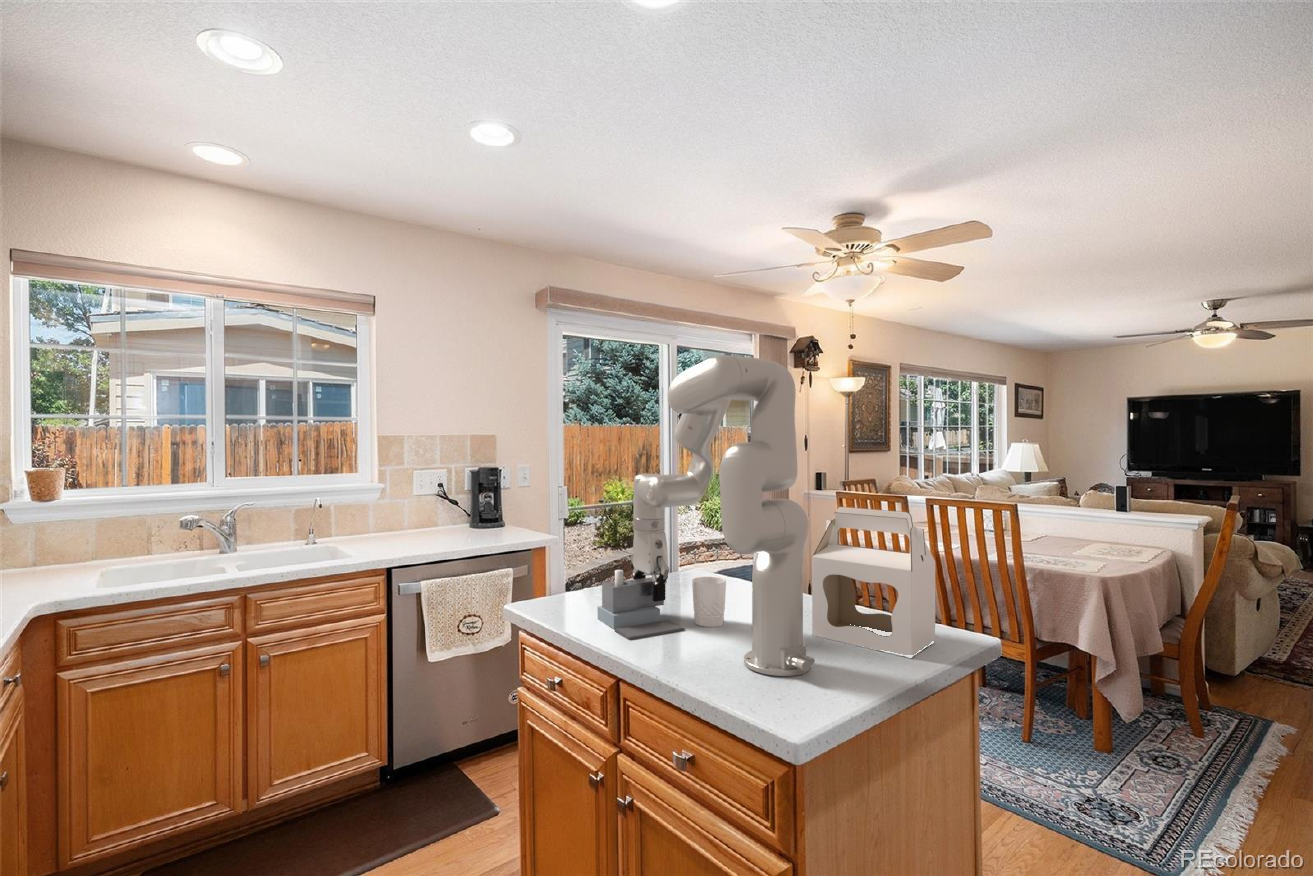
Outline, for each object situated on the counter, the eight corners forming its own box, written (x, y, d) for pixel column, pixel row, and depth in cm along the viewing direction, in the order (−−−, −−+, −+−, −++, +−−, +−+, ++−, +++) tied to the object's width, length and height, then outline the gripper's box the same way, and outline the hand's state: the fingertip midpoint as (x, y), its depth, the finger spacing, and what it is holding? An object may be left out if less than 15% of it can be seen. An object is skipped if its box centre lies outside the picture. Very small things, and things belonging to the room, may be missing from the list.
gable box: (810, 635, 139) (810, 508, 139) (838, 622, 149) (838, 503, 149) (912, 659, 124) (913, 516, 124) (936, 643, 134) (937, 510, 134)
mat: (684, 630, 143) (684, 627, 143) (628, 640, 136) (628, 637, 136) (668, 622, 149) (668, 619, 149) (614, 631, 142) (614, 628, 142)
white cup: (725, 618, 152) (725, 576, 152) (726, 628, 144) (726, 584, 144) (692, 617, 153) (692, 576, 153) (691, 627, 145) (691, 583, 145)
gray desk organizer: (613, 613, 145) (613, 587, 145) (602, 607, 150) (602, 582, 150) (665, 606, 152) (665, 580, 152) (653, 600, 157) (653, 576, 157)
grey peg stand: (613, 629, 143) (613, 576, 143) (597, 619, 151) (597, 568, 151) (659, 621, 149) (660, 570, 149) (641, 612, 157) (642, 563, 157)
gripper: (681, 528, 147) (681, 602, 147) (645, 520, 162) (645, 587, 162) (652, 531, 144) (652, 606, 144) (619, 521, 159) (619, 590, 159)
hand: (648, 596), depth 153 cm, fingers open, 9 cm apart
